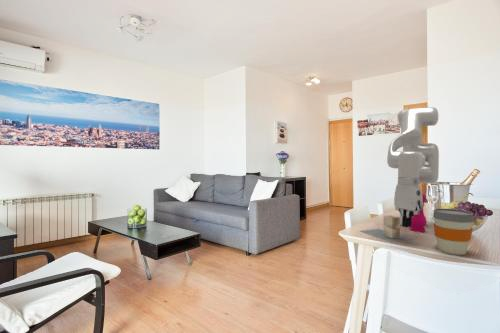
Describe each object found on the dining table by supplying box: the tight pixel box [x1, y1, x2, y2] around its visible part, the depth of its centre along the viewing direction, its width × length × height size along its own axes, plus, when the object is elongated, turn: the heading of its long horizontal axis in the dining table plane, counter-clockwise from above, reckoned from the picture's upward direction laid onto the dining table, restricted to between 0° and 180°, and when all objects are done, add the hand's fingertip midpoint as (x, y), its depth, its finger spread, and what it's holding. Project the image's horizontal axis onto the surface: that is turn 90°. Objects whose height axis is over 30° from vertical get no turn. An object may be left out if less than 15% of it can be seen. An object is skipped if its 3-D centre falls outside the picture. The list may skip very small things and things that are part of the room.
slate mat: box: [359, 228, 414, 244], centre depth 127 cm, size 12×19×1 cm, turn 21°
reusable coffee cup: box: [432, 208, 475, 256], centre depth 108 cm, size 13×13×15 cm
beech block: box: [382, 214, 401, 239], centre depth 124 cm, size 4×4×9 cm
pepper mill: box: [409, 193, 427, 234], centre depth 136 cm, size 7×7×20 cm
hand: (406, 226), depth 117 cm, fingers closed
